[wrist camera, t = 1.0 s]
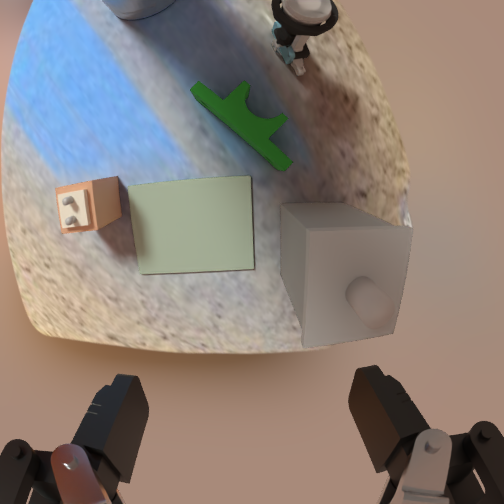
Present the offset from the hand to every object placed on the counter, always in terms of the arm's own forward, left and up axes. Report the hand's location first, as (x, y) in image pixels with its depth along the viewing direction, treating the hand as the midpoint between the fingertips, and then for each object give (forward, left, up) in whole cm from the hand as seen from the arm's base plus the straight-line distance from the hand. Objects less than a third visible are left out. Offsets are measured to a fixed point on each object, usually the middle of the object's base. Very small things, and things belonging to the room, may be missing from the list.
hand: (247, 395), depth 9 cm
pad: (-1, -5, -21) cm, 22 cm away
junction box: (+1, +8, -21) cm, 23 cm away
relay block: (-5, -15, -21) cm, 27 cm away
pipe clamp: (-12, +2, -22) cm, 25 cm away
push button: (-20, +6, -22) cm, 30 cm away
